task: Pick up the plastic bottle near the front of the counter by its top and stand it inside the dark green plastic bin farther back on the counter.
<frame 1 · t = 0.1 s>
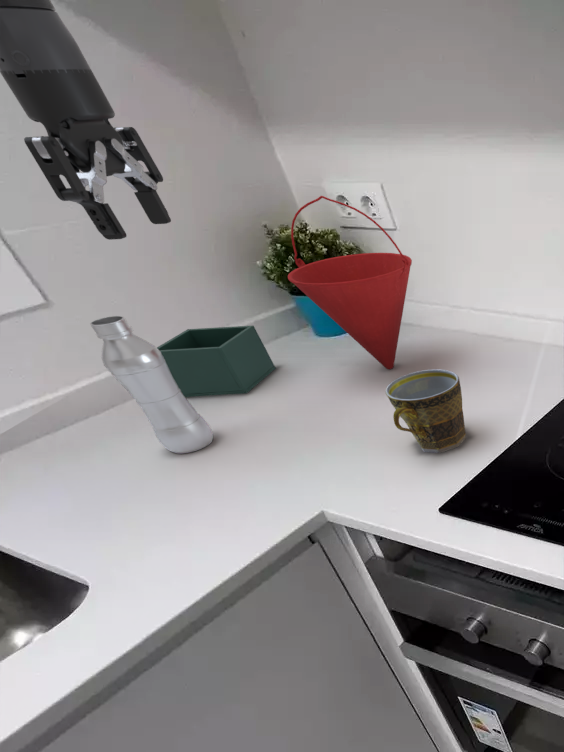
hand: (140, 230, 70), 30 cm above the worktop, tool pointing down, fingers open, 8 cm apart
ceramic cup: (439, 449, 84), on the worktop
bin: (230, 384, 104), on the worktop
plastic bottle: (195, 448, 86), on the worktop
fire bucket: (390, 371, 107), on the worktop
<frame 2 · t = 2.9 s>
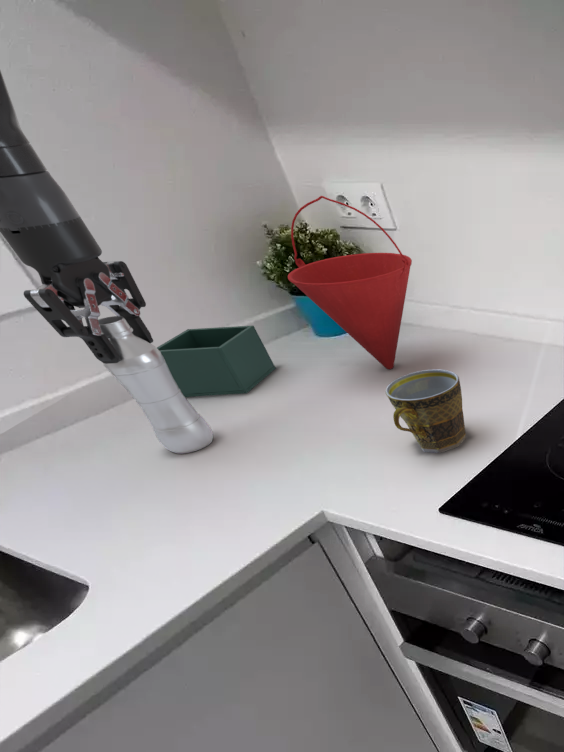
hand: (129, 352, 76), 16 cm above the worktop, tool pointing down, fingers closed on plastic bottle, 6 cm apart
plastic bottle: (195, 448, 86), on the worktop, touching gripper
everything else where it was.
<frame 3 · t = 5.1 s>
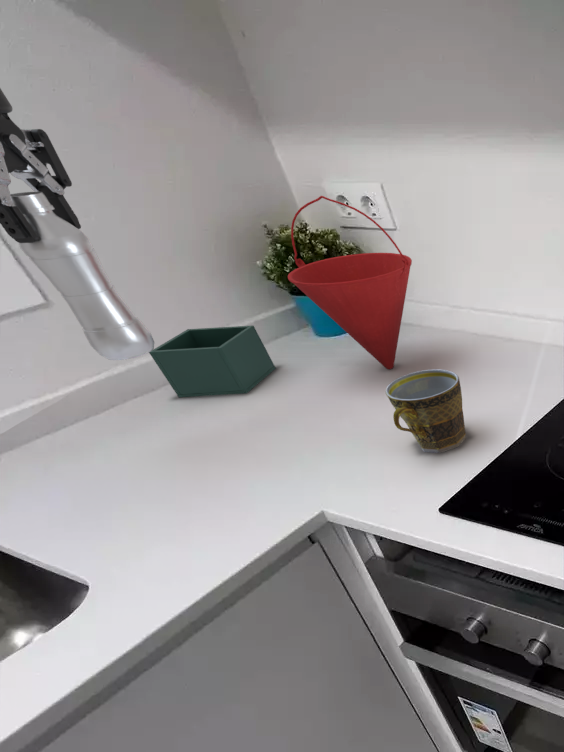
hand: (50, 235, 67), 30 cm above the worktop, tool pointing down, fingers closed on plastic bottle, 6 cm apart
plastic bottle: (134, 357, 77), point 15 cm above the worktop, touching gripper
everything else where it was.
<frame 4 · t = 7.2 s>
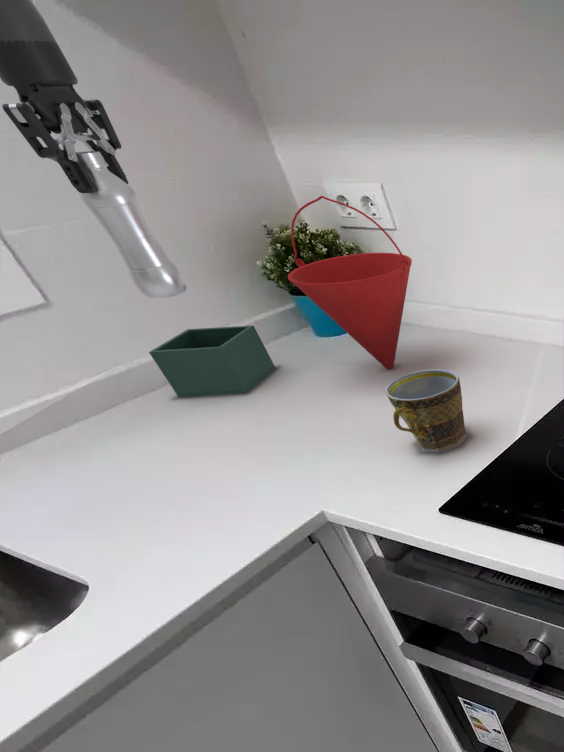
hand: (104, 188, 81), 33 cm above the worktop, tool pointing down, fingers closed on plastic bottle, 6 cm apart
plastic bottle: (169, 297, 91), point 17 cm above the worktop, touching gripper
everything else where it was.
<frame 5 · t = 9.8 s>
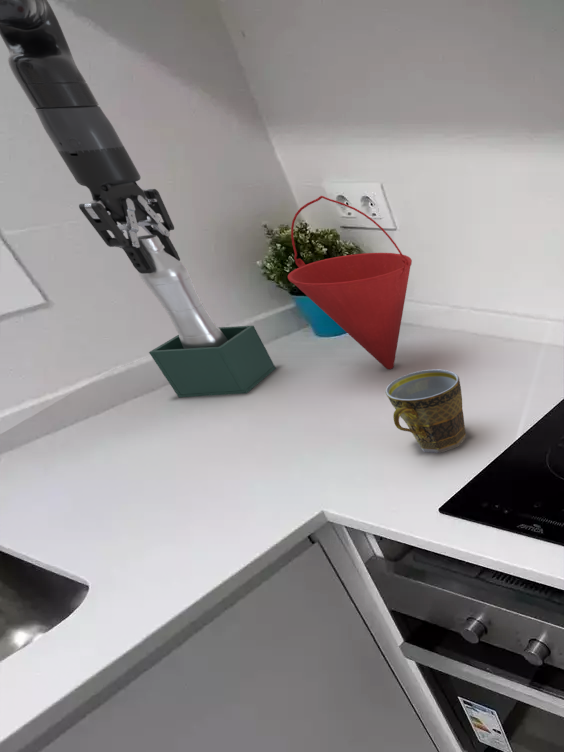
hand: (160, 266, 91), 21 cm above the worktop, tool pointing down, fingers closed on plastic bottle, 6 cm apart
plastic bottle: (214, 357, 101), point 5 cm above the worktop, touching gripper
everything else where it was.
when the fingers open (17 cm above the worktop, at t = 11.5 s): plastic bottle stays where it is, resting on bin.
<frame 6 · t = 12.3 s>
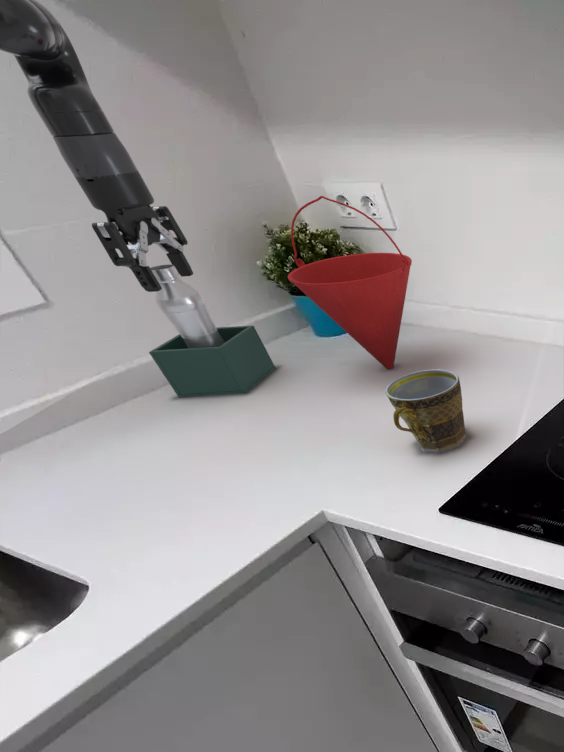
hand: (171, 283, 92), 18 cm above the worktop, tool pointing down, fingers open, 8 cm apart
plastic bottle: (227, 380, 103), point 1 cm above the worktop, touching bin
everything else where it was.
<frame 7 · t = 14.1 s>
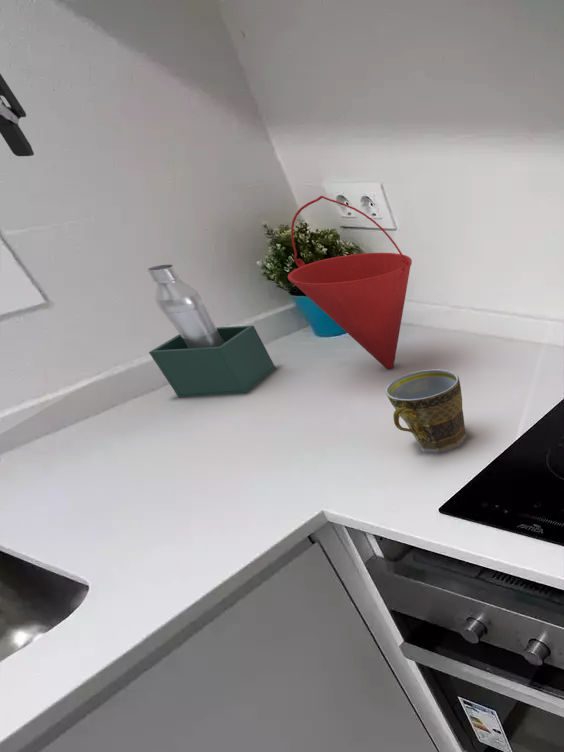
nothing on the worktop moved.
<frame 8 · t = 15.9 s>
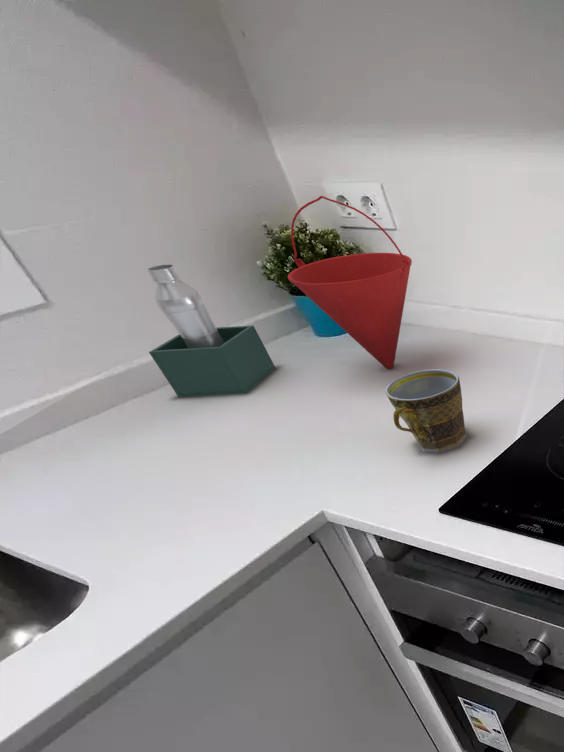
nothing on the worktop moved.
at the end: plastic bottle inside the target area in the bin (0.1 cm from its centre), point 0.8 cm above the bin's base; plastic bottle tilted 0°; the gripper is holding nothing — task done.
